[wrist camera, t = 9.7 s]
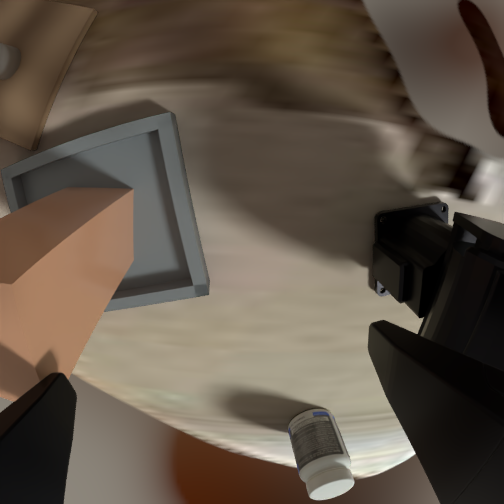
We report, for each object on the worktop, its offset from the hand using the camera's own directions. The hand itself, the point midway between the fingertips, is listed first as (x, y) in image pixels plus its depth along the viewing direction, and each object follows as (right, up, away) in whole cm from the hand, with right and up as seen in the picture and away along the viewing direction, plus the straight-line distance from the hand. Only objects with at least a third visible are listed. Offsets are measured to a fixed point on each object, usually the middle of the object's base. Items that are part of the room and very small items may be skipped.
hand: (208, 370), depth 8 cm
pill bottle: (+7, -14, +20) cm, 25 cm away
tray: (-8, +5, +11) cm, 15 cm away
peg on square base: (-15, +16, +6) cm, 23 cm away
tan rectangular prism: (-8, +5, +10) cm, 14 cm away
